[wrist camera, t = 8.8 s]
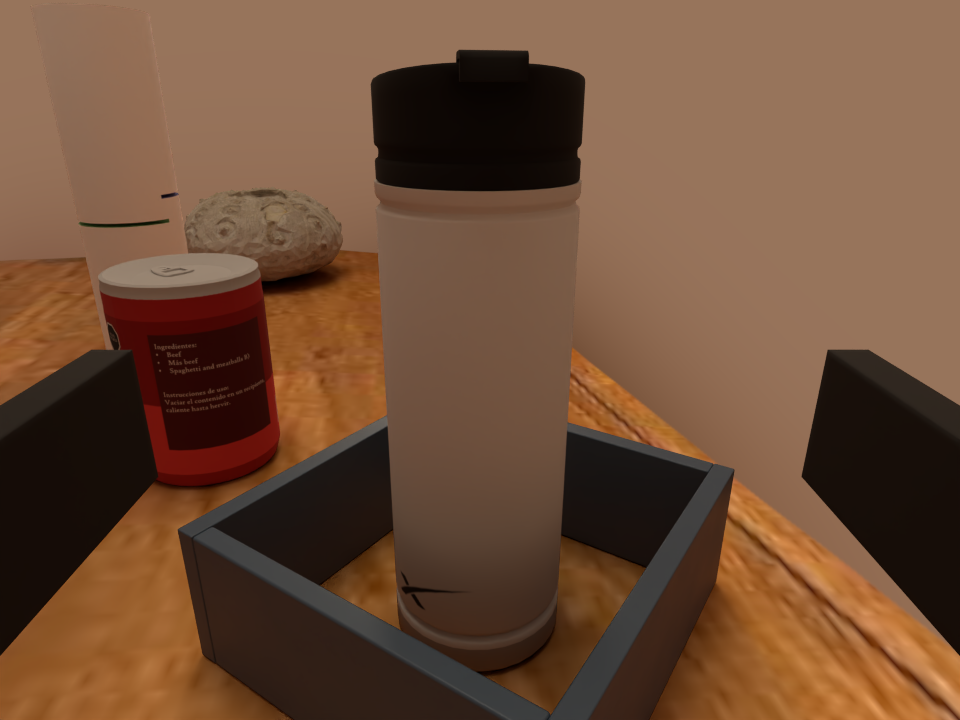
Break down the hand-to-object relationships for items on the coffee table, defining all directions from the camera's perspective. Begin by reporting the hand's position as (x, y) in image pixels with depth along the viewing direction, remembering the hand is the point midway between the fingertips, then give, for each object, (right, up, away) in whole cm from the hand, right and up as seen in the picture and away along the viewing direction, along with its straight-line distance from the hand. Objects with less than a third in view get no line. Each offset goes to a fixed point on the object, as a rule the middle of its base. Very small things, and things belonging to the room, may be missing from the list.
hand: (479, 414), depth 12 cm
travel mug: (0, -9, +13) cm, 16 cm away
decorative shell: (-25, +11, +65) cm, 71 cm away
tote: (0, -9, +13) cm, 16 cm away
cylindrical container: (-27, +2, +41) cm, 49 cm away
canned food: (-16, -5, +25) cm, 30 cm away
